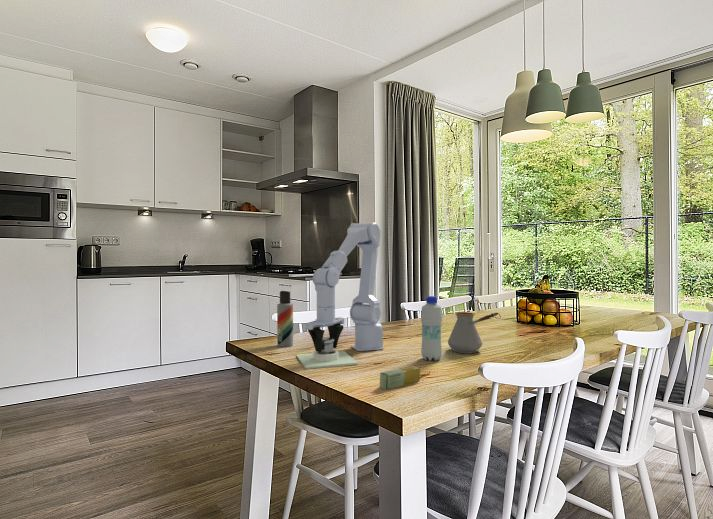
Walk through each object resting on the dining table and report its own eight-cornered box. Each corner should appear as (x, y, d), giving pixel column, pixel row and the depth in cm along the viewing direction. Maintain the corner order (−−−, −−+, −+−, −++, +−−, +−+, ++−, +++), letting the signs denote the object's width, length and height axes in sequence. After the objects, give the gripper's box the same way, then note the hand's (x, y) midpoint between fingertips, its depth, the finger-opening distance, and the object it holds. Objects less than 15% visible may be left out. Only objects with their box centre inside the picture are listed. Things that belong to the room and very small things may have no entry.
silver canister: (338, 356, 138) (337, 338, 138) (326, 361, 134) (326, 341, 134) (326, 354, 141) (325, 335, 141) (314, 358, 137) (314, 339, 137)
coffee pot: (440, 349, 152) (440, 306, 152) (466, 345, 157) (466, 304, 157) (484, 363, 133) (484, 314, 132) (512, 358, 138) (512, 311, 138)
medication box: (385, 391, 107) (386, 375, 107) (378, 388, 110) (379, 372, 109) (420, 382, 115) (420, 367, 115) (413, 379, 117) (413, 364, 117)
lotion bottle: (274, 346, 157) (273, 291, 157) (282, 343, 163) (282, 289, 162) (288, 347, 155) (287, 291, 155) (296, 344, 161) (295, 290, 160)
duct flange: (343, 352, 147) (343, 345, 147) (358, 364, 132) (358, 356, 132) (296, 356, 142) (296, 348, 142) (305, 369, 127) (305, 360, 127)
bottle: (443, 357, 140) (443, 295, 140) (440, 362, 134) (440, 297, 133) (422, 356, 142) (422, 294, 142) (418, 360, 136) (418, 296, 135)
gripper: (333, 303, 145) (333, 344, 145) (299, 307, 134) (299, 351, 134) (348, 304, 140) (349, 347, 140) (315, 309, 129) (315, 355, 129)
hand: (326, 349), depth 137 cm, fingers open, 6 cm apart
